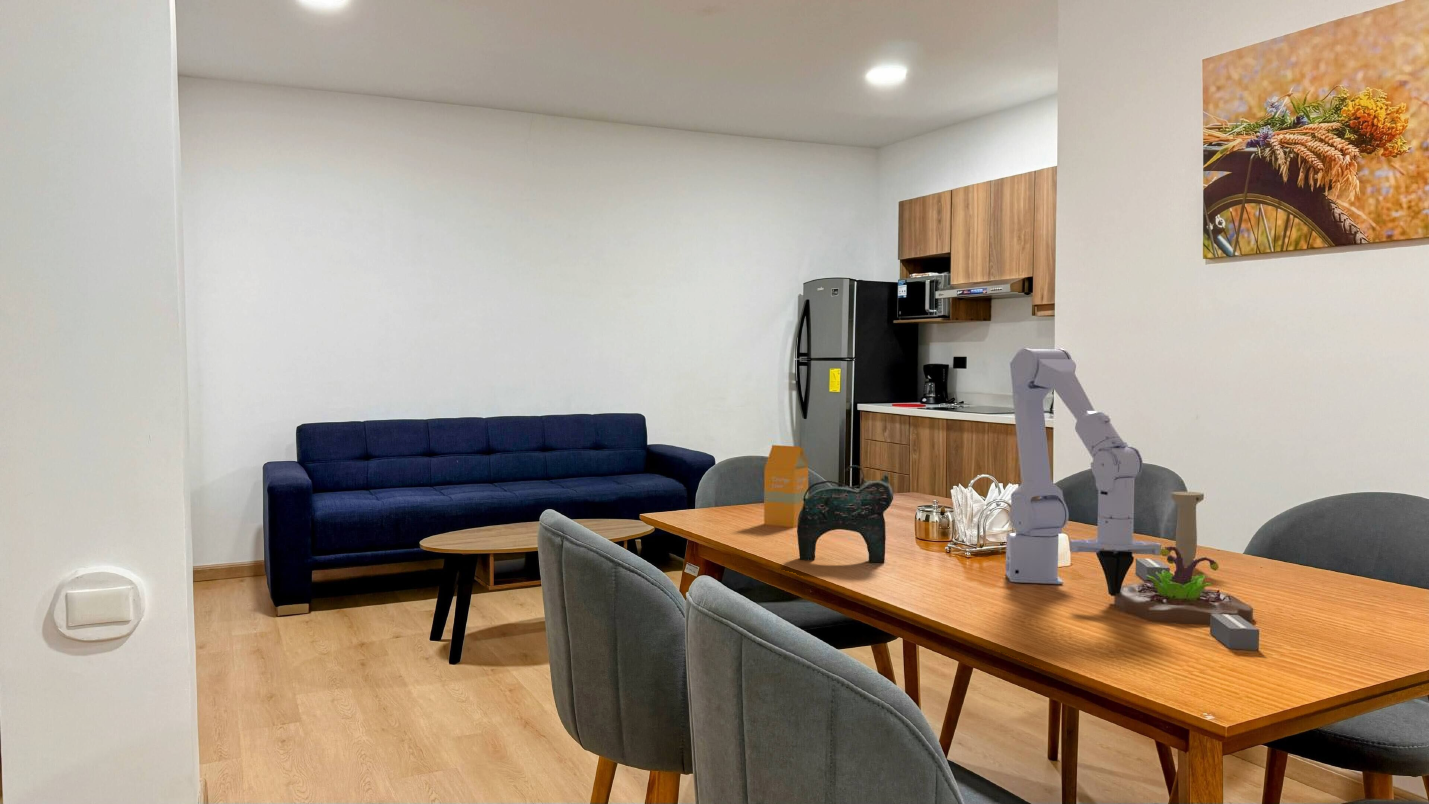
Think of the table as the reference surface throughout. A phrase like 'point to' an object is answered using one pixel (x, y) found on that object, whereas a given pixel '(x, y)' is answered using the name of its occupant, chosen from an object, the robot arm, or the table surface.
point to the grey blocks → (1222, 626)
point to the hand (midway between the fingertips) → (1113, 594)
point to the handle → (1186, 524)
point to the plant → (1179, 596)
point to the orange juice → (785, 485)
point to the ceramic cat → (846, 515)
